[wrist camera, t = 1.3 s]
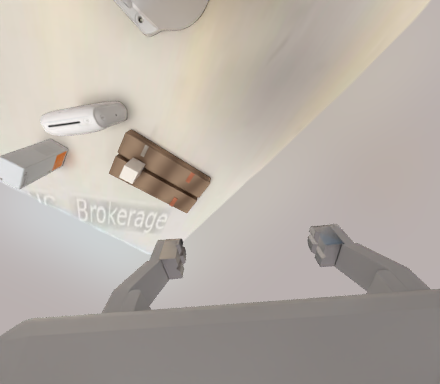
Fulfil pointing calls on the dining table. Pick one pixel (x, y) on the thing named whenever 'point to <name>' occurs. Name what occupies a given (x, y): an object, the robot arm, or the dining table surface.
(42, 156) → the skincare box
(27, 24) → the dining table surface
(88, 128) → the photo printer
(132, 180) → the fader knob
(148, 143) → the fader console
